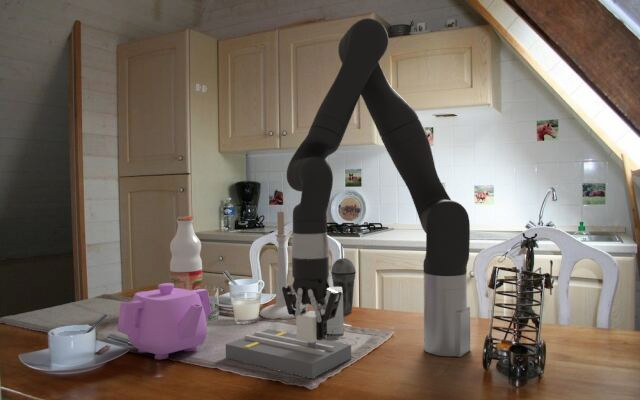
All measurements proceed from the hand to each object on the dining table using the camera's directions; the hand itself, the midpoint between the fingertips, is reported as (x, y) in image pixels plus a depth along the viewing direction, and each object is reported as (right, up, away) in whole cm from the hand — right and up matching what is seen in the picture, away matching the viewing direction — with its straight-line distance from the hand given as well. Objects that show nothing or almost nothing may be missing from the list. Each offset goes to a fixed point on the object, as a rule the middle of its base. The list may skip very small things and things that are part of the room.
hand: (311, 337), depth 109 cm
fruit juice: (-38, -5, +50) cm, 63 cm away
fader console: (-5, -6, +4) cm, 8 cm away
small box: (+5, -5, +25) cm, 26 cm away
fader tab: (0, -2, 0) cm, 2 cm away
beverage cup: (+9, -4, +44) cm, 45 cm away
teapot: (-33, -6, +11) cm, 35 cm away
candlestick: (-9, -5, +43) cm, 44 cm away
